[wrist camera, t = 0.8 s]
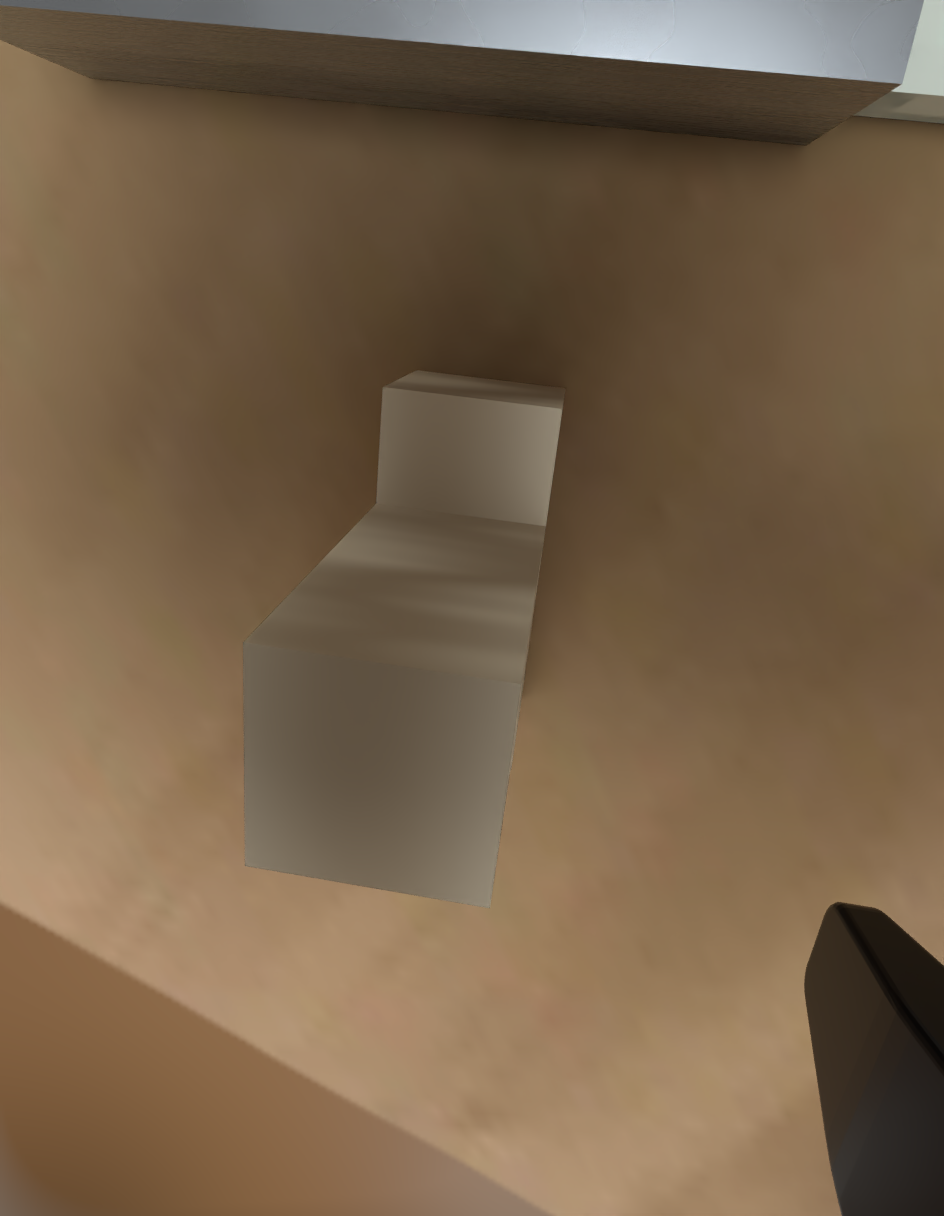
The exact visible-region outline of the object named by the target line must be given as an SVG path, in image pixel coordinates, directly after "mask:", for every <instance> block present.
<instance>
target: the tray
mask: <svg viewBox="0 0 944 1216" xmlns="http://www.w3.org/2000/svg"><path fill="white" fill-rule="evenodd" d="M854 116H865V117H876V118H887V119H898V120H909V121H920V122H932V123H943V124H944V0H924V3H923V7H922V10H921V14H920V18H919V22H918V26H917V30H916V33H915V37H914V41H913V45H912V49H911V53H910V56H909V60H908V64H907V68H906V72H905V75H904V79H903V83H902V84H901V85H900V86H898V87H897V88H895V89H894V90H892V91H890V92H889V93H887V94H886V95H884V96H883V97H881V98H879V99H878V100H876V101H875V102H873V103H872V104H870V105H868V106H867V107H865V108H864V109H862V110H861V111H859V112H858V113H856V114H854Z"/></svg>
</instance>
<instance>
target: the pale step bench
mask: <svg viewBox="0 0 944 1216" xmlns="http://www.w3.org/2000/svg"><path fill="white" fill-rule="evenodd" d="M565 390H566V388H561V387H553V386H544V385H536V384H528V383H519V382H511V381H503V380H494V379H486V378H478V377H469V376H461V375H453V374H444V373H436V372H428V371H419V370H416V371H414V372H412V373H410V374H408V375H406V376H404V377H402V378H400V379H398V380H396V381H394V382H392V383H390V384H388V385H386V386H384V387H383V392H382V409H381V426H380V444H379V461H378V479H377V496H376V504H375V505H374V506H373V507H372V508H371V509H370V510H369V511H368V512H367V514H366V515H365V516H364V517H363V518H362V519H361V520H360V521H359V522H358V523H357V524H356V525H355V526H354V527H353V528H352V529H351V530H350V531H349V532H348V533H347V534H346V535H345V536H344V538H343V539H342V540H341V541H340V542H339V543H338V544H337V545H336V546H335V547H334V548H333V549H332V550H331V551H330V552H329V553H328V554H327V555H326V556H325V557H324V558H323V559H322V560H321V562H320V563H319V564H318V565H317V566H316V567H315V568H314V569H313V570H312V571H311V572H310V573H309V574H308V575H307V576H306V577H305V578H304V579H303V580H302V581H301V582H300V583H299V585H298V586H297V587H296V588H295V589H294V590H293V591H292V592H291V593H290V594H289V595H288V596H287V597H286V598H285V599H284V600H283V601H282V602H281V603H280V604H279V605H278V606H277V607H276V609H275V610H274V611H273V612H272V613H271V614H270V615H269V616H268V617H267V618H266V619H265V620H264V621H263V622H262V623H261V624H260V625H259V626H258V627H257V628H256V629H255V630H254V632H253V633H252V634H251V635H250V636H249V637H248V638H247V639H246V640H245V641H244V642H243V686H244V807H245V866H248V867H254V868H260V869H266V870H272V871H277V872H283V873H289V874H295V875H300V876H306V877H312V878H318V879H324V880H329V881H335V882H341V883H347V884H352V885H358V886H364V887H370V888H376V889H381V890H387V891H393V892H399V893H404V894H410V895H416V896H422V897H428V898H433V899H439V900H445V901H451V902H456V903H462V904H468V905H474V906H480V907H485V908H490V903H491V897H492V890H493V883H494V876H495V870H496V863H497V856H498V850H499V843H500V836H501V830H502V823H503V816H504V809H505V803H506V796H507V789H508V783H509V776H510V770H511V767H512V760H513V753H514V746H515V740H516V733H517V726H518V719H519V713H520V706H521V699H522V692H523V685H524V678H525V671H526V664H527V657H528V650H529V643H530V636H531V629H532V622H533V615H534V608H535V601H536V594H537V587H538V580H539V573H540V566H541V559H542V551H543V544H544V537H545V530H546V523H547V516H548V509H549V502H550V495H551V488H552V481H553V474H554V467H555V460H556V453H557V446H558V439H559V432H560V425H561V418H562V411H563V404H564V397H565Z"/></svg>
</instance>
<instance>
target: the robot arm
mask: <svg viewBox="0 0 944 1216" xmlns="http://www.w3.org/2000/svg"><path fill="white" fill-rule="evenodd" d="M804 989H805V1000H806V1006H807V1013H808V1020H809V1027H810V1034H811V1041H812V1047H813V1054H814V1061H815V1068H816V1075H817V1082H818V1089H819V1095H820V1102H821V1109H822V1116H823V1123H824V1130H825V1137H826V1143H827V1149H828V1154H829V1160H830V1166H831V1171H832V1176H833V1180H834V1185H835V1189H836V1193H837V1198H838V1202H839V1206H840V1210H841V1214H842V1216H944V966H943V965H942V964H941V963H940V962H939V961H938V960H937V959H936V958H934V957H933V956H932V955H931V954H930V953H929V952H928V951H927V950H925V949H924V948H923V947H922V946H921V945H920V944H919V943H918V942H916V941H915V940H914V939H913V938H912V937H911V936H910V935H909V934H907V933H906V932H905V931H904V930H903V929H902V928H901V927H900V926H899V925H897V924H896V923H895V922H894V921H893V920H892V919H891V918H890V917H888V916H887V915H886V914H885V913H883V912H882V911H880V910H878V909H876V908H872V907H866V906H860V905H854V904H848V903H842V902H837V903H834V904H832V905H830V907H829V908H828V909H827V911H826V913H825V915H824V918H823V921H822V924H821V927H820V929H819V932H818V935H817V938H816V941H815V944H814V947H813V950H812V953H811V955H810V958H809V961H808V964H807V967H806V972H805V982H804Z"/></svg>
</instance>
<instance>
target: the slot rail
mask: <svg viewBox="0 0 944 1216" xmlns="http://www.w3.org/2000/svg"><path fill="white" fill-rule="evenodd" d="M923 3H924V0H0V40H2V41H4V42H7V43H9V44H11V45H14V46H16V47H18V48H21V49H23V50H25V51H28V52H30V53H32V54H35V55H37V56H39V57H42V58H44V59H46V60H49V61H51V62H53V63H56V64H58V65H60V66H63V67H65V68H67V69H70V70H72V71H74V72H77V73H79V74H82V75H84V76H86V77H89V78H94V79H105V80H116V81H126V82H137V83H147V84H158V85H169V86H179V87H190V88H201V89H211V90H222V91H233V92H243V93H254V94H265V95H275V96H286V97H297V98H307V99H318V100H329V101H339V102H350V103H360V104H371V105H382V106H392V107H403V108H414V109H424V110H435V111H446V112H456V113H467V114H478V115H488V116H499V117H510V118H520V119H531V120H542V121H552V122H563V123H573V124H584V125H595V126H605V127H616V128H627V129H637V130H648V131H659V132H669V133H680V134H691V135H701V136H712V137H723V138H733V139H744V140H755V141H765V142H776V143H786V144H797V145H807V144H809V143H811V142H812V141H814V140H815V139H817V138H818V137H820V136H822V135H823V134H825V133H826V132H828V131H829V130H831V129H832V128H834V127H836V126H837V125H839V124H840V123H842V122H843V121H845V120H847V119H848V118H850V117H851V116H853V115H854V114H856V113H858V112H859V111H861V110H862V109H864V108H865V107H867V106H868V105H870V104H872V103H873V102H875V101H876V100H878V99H879V98H881V97H883V96H884V95H886V94H887V93H889V92H890V91H892V90H894V89H895V88H897V87H898V86H900V85H901V84H902V83H903V79H904V75H905V72H906V68H907V64H908V60H909V56H910V53H911V49H912V45H913V41H914V37H915V33H916V30H917V26H918V22H919V18H920V14H921V10H922V7H923Z"/></svg>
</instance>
